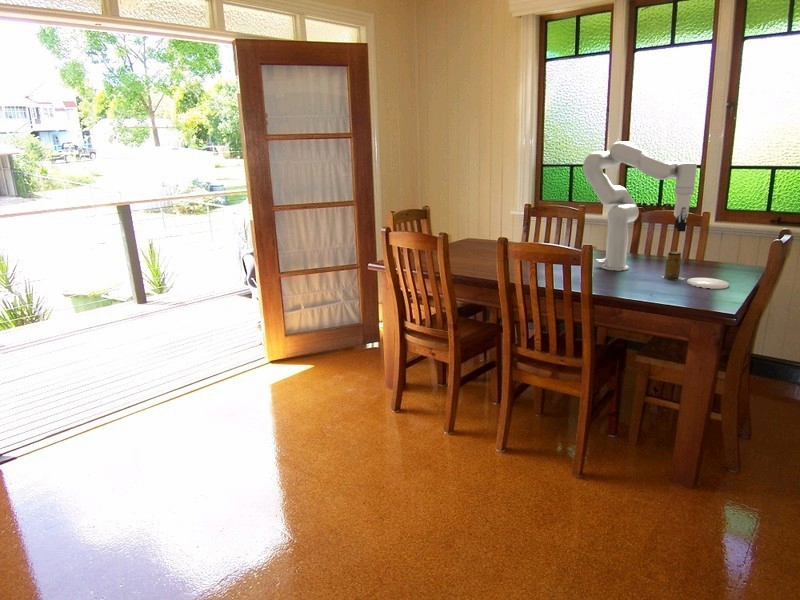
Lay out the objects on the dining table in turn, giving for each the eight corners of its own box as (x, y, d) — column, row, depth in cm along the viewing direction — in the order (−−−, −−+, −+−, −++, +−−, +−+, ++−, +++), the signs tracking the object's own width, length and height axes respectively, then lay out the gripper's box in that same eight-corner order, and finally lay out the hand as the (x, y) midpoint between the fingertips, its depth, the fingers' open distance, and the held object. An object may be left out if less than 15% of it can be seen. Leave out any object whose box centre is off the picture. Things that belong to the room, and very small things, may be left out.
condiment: (670, 275, 256) (673, 250, 252) (686, 279, 248) (689, 253, 245) (659, 277, 253) (662, 252, 249) (675, 281, 245) (678, 255, 242)
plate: (689, 287, 235) (690, 285, 234) (685, 278, 249) (685, 276, 249) (731, 290, 229) (732, 287, 229) (724, 281, 243) (724, 278, 243)
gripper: (672, 189, 248) (668, 226, 253) (677, 192, 233) (672, 232, 237) (690, 189, 246) (686, 227, 250) (696, 192, 230) (691, 232, 235)
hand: (679, 229), depth 244 cm, fingers open, 9 cm apart
